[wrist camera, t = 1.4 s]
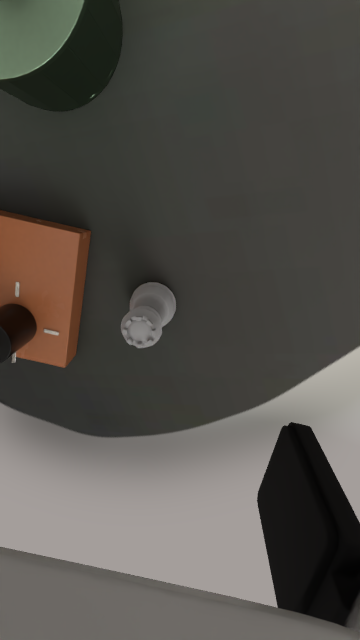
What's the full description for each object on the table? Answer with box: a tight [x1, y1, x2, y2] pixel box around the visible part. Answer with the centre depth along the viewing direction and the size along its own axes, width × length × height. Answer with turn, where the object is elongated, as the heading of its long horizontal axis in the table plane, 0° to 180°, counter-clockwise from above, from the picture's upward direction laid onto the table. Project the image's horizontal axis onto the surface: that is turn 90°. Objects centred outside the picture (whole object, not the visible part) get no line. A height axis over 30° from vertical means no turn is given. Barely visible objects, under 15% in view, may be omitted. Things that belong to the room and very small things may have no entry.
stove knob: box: [0, 303, 37, 363], centre depth 29 cm, size 4×4×5 cm
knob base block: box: [0, 210, 91, 368], centre depth 32 cm, size 14×10×3 cm
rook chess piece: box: [121, 282, 176, 348], centre depth 29 cm, size 4×4×8 cm
